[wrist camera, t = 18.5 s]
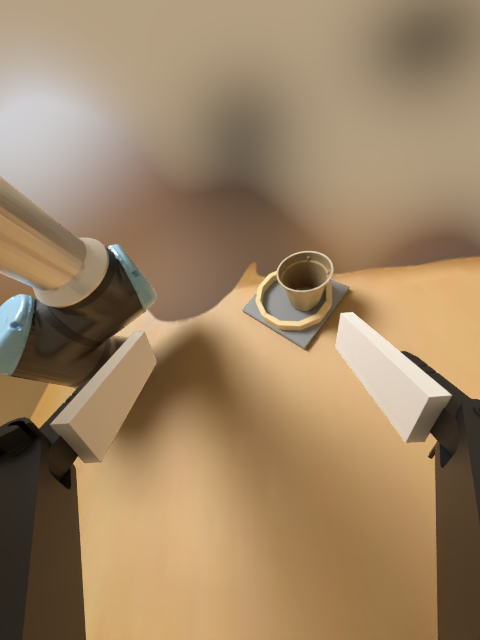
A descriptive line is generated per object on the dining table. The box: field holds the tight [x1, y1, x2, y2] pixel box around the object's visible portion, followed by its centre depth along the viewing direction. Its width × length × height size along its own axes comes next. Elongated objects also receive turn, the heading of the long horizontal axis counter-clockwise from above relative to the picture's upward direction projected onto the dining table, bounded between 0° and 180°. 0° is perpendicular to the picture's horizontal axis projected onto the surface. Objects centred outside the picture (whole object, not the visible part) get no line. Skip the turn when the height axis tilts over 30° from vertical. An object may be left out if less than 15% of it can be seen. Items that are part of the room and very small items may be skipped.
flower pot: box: [277, 251, 333, 311], centre depth 37 cm, size 9×9×9 cm
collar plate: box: [242, 271, 349, 350], centre depth 41 cm, size 16×16×3 cm
